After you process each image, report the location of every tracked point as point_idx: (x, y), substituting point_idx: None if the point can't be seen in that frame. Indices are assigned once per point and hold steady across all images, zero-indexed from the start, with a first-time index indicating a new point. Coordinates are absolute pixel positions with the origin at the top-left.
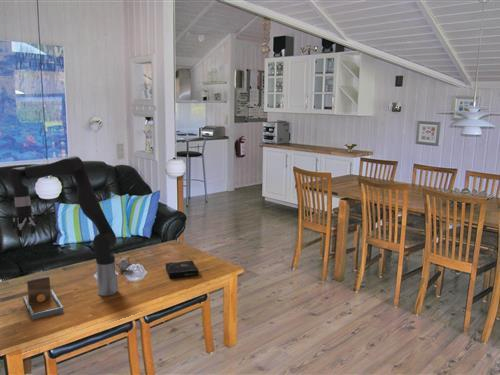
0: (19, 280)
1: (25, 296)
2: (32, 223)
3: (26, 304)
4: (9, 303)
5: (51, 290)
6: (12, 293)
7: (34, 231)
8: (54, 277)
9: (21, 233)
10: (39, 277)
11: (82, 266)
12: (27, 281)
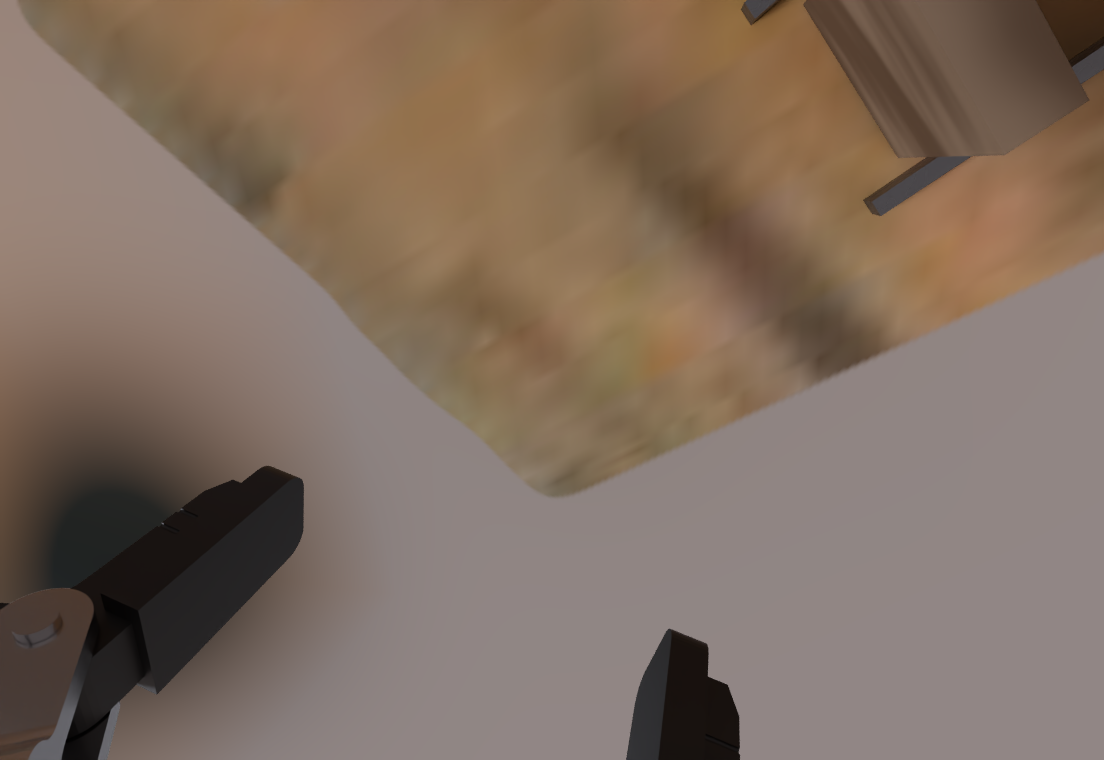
0: (519, 422)
1: (883, 196)
2: (32, 747)
3: None
4: (948, 287)
5: (754, 10)
6: (749, 359)
7: (251, 492)
8: (427, 188)
9: (685, 713)
10: (959, 6)
11: (171, 59)
12: (1053, 119)
